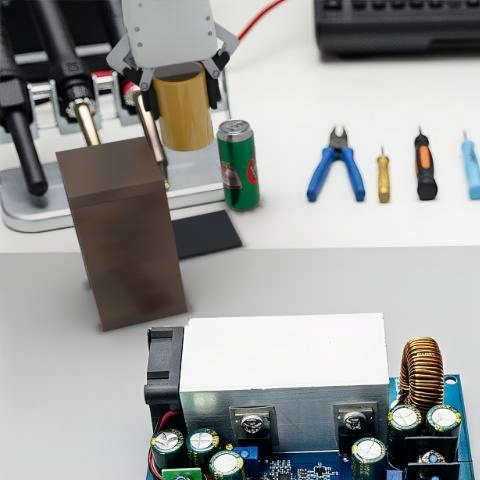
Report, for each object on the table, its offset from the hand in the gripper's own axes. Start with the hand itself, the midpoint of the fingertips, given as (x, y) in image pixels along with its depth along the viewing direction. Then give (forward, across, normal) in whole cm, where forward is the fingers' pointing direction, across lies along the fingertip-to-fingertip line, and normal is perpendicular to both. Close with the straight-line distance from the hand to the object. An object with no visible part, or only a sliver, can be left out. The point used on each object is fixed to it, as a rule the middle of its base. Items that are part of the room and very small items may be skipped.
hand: (183, 109), depth 123 cm
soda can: (+19, -7, -6) cm, 21 cm away
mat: (+19, 0, 0) cm, 19 cm away
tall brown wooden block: (+19, +11, +10) cm, 24 cm away
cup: (+4, 0, 0) cm, 4 cm away
